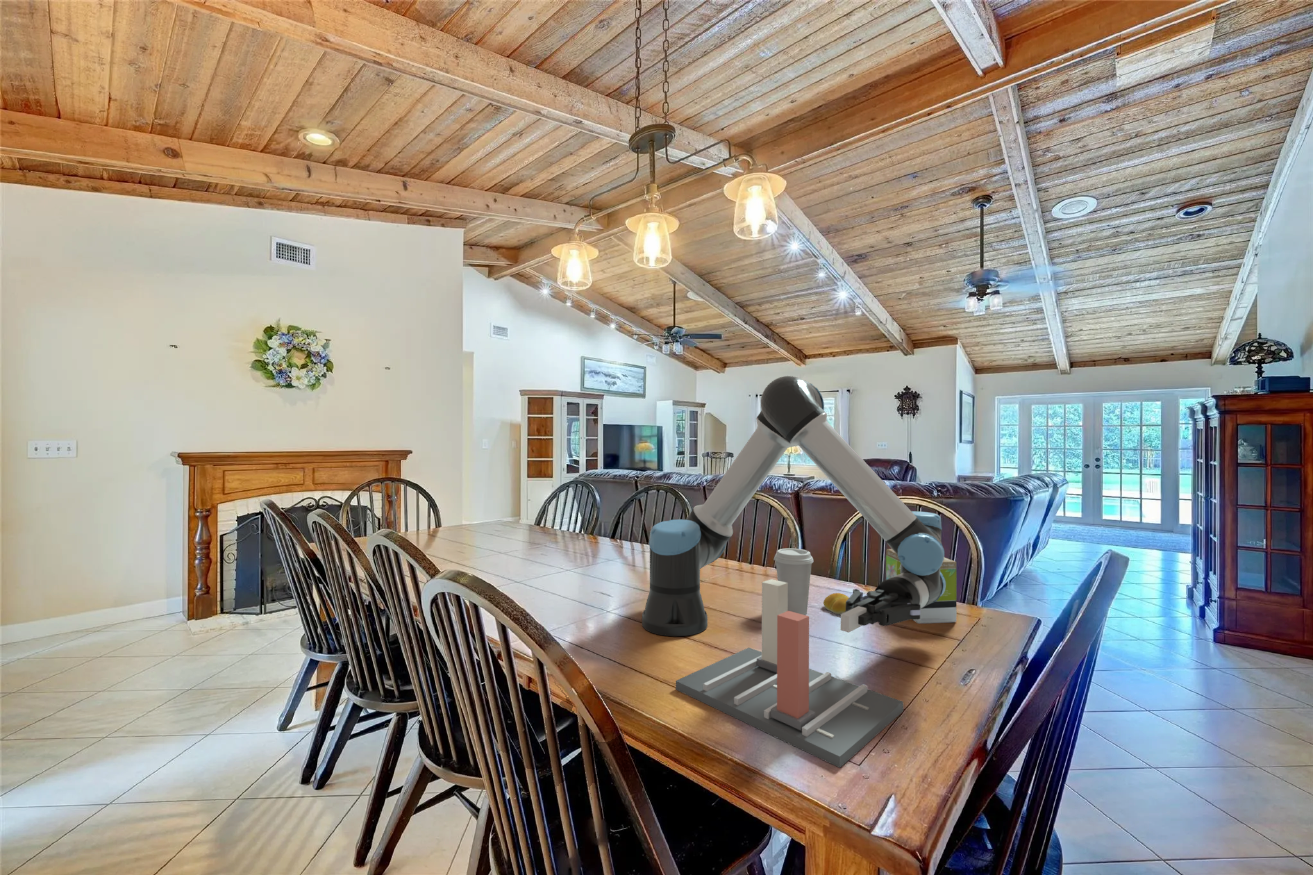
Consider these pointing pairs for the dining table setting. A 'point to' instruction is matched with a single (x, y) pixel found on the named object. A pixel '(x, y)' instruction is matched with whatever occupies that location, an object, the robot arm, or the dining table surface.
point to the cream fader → (771, 620)
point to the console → (838, 705)
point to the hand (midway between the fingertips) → (844, 623)
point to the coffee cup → (795, 576)
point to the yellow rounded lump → (836, 603)
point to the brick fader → (793, 670)
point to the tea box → (946, 603)
